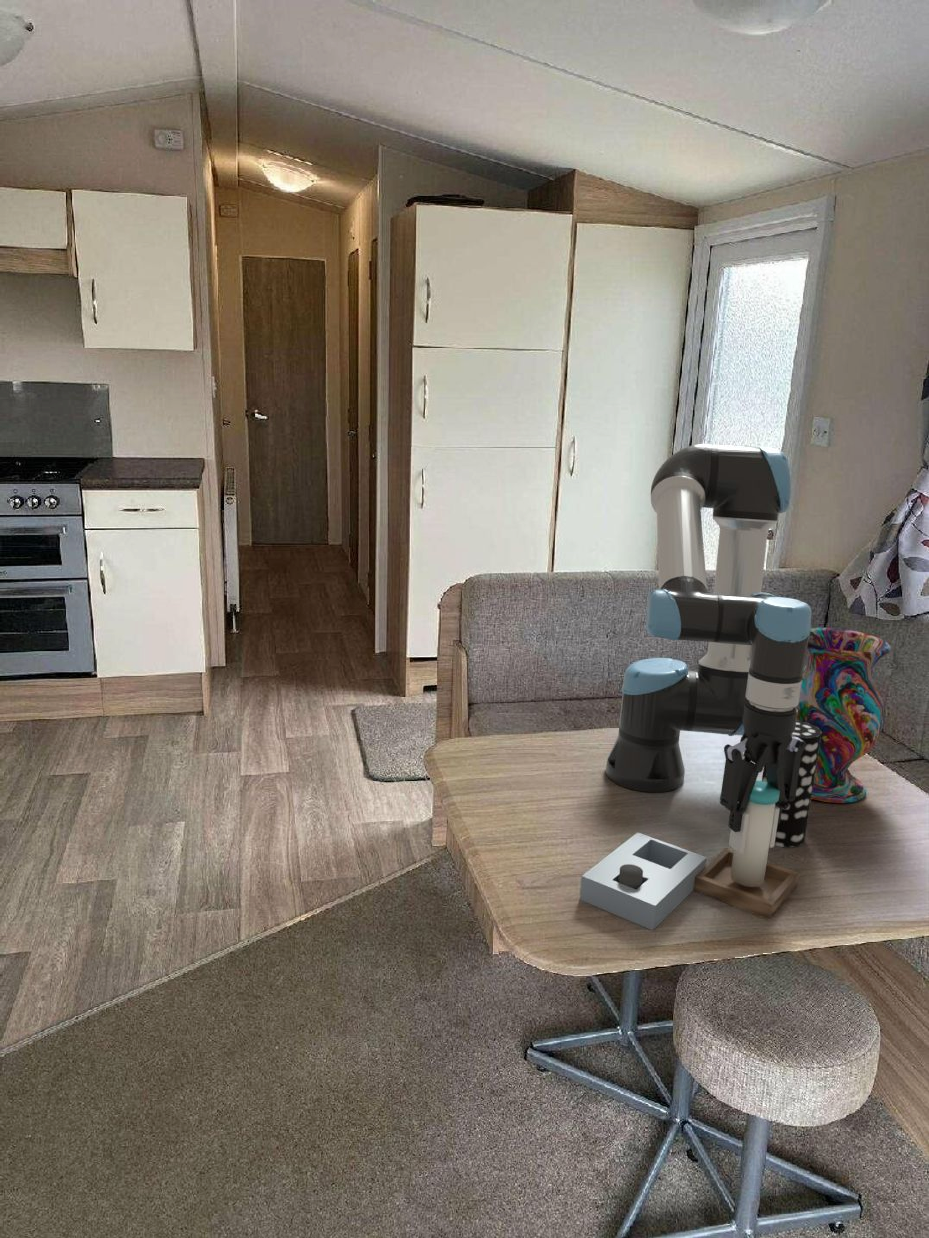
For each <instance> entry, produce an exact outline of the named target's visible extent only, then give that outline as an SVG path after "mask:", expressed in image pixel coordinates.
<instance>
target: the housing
mask: <svg viewBox="0 0 929 1238" xmlns="http://www.w3.org/2000/svg"><path fill="white" fill-rule="evenodd" d="M707 858H708V857H707V856H704V855H701V854H699V853H695V852H694V851H691V850H689V849H684V848H682V847H680V846H677V845H674V844H671V843H668V842H665V841H663V840H660V839H658V838H655V837H652V836H649V835H646V834H643V833H640V832H638V831H637V832H636V833H635V834H633V836H631V837H630V838H628V839H627V840H626V841H625V842H624V843H622V844H621V845H619V846H618V847H617V848H615V850H613V851H612V852H610V853H609V854H608V855H607V856H605V857H604V858H603V859H601V860H600V861H599V862H598V863H597V864H595V865H594V866H593V867H591V868H590V869H589V870H587V871H586V872H584V873H583V874H582V875H581V879H580V880H581V881H580V893H579V900H580V901H582V902H584V903H588V904H589V905H591V906H593V907H595V908H599V909H601V910H604V911H606V912H608V913H610V914H613V915H615V916H617V917H620V918H622V919H624V920H627V921H628V922H629V921H630V922H632V923H633V924H636V925H638V926H641V927H643V928H645V929H648V930H650V931H654V929H656V928H657V926H658V925H659V924H661V923H662V922H663V920H665V919H666V918H667V917H668V916H669V915H670V913H672V912H673V911H674V910H675V909H676V908H677V907H678V906H679V905H680V904H681V903H682V902H683V901H684V900H685V899H686V898H687V897H688V896H689V895H690V894H692V892H694V890H693V889H694V881H695V876H696V875H697V874H698V873H699V872H700V871H701V870H702V869H703V868H705V867H706V866H707ZM626 864H631V865H636V866H638V867H640V868H641V869H642V870H643V877H642V885H641V886H640V887H639V888H638V889H637V890H636V889H633V888H631V887H628V886H626V885H623V884H621V883H618V882H619V872H620V867H621V866H623V865H626Z"/></svg>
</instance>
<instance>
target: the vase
mask: <svg viewBox="0 0 929 1238" xmlns="http://www.w3.org/2000/svg"><path fill="white" fill-rule="evenodd" d="M890 651H891V645H890V643H888V641H885V640H884V639H882V638H880V637H878V636H876V635H875V636H874V635H872V634H868V633H866V632H861V631H856V630H850V629H843V628H837V627H836V628H835V627H811V632H810V635H809V639H808V645H807V652H806V663H805V665H804V671H803V677H802V684H801V691H800V698H799V704H798V705H797V706H796V709H797V710H798V713H797V719H796V720H797V721H802V722H806V723H809V724H812V725H814V726H816V727H817V728H819V729H820V730H821V732H822V733H821V739H820V746H819V752H818V758H817V765H816V771H815V777H814V784H813V790H812V796H811V800H815V801H820V802H827V803H837V804H838V803H839V804H840V803H841V804H842V803H843V804H845V803H853V802H858V801H860V800H862V799H863V798H865V796H866V795H867V789H866V788H865V786H864V784H863V783H862V782H861V781H860V780H859V779H858V778H857V777H855V776H854V775H853V774H851V772H850V770H849V767H850V766H851V765H852V764H853V763H854V762H855V761H858V760H859V759H860V758H862V757H864V756H865V755H866V754H867V753H868V752H869V751H870V750H871V749H873V747H874V746H875V745H876V743H877V741H878V740H879V737H880V736H881V732H882V729H883V725H884V721H885V710H884V709H885V708H884V706H885V705H884V703H883V702H884V701H883V700H882V697H881V695H880V692H879V689H878V687H877V685H876V682H875V679H874V677H873V673H874V667H875V665H876V664H877V663H878V661H879V660H880V659H881V658H882V657H884V656H886V655H887V654H888V653H890Z"/></svg>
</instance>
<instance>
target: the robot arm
mask: <svg viewBox="0 0 929 1238" xmlns="http://www.w3.org/2000/svg"><path fill="white" fill-rule="evenodd" d="M791 483H792V480H791V471H790V464H789V460H788V458H787V456H786V454H785V453H784V452H783V451H782V450H780V449H779V448H778V449H777V448H773V447H766V446H765V447H764V446H760V445H757V446H753V445H749V446H748V445H747V446H746V445H727V444H726V445H725V444H724V445H723V444H710V443H697V444H694V445H693V444H692V445H689V446H686V447H684V448H682V449H680V450H678V451H676V452H675V453H674V454H672V455H671V456H669V458H667V459H666V460H665V461H664V462H663V463H662V464H661V466H660V467H659V468H658V470H657V472H656V473H655V475H654V478H653V480H652V483H651V487H650V504H651V507H652V509H653V511H654V512H655V513H656V520H657V521H656V524H657V525H656V527H657V531H656V532H657V564H658V565H657V567H658V569H657V570H658V589H653V590H651V591H650V592H649V593H648V596H647V597H648V598H647V602H646V603H647V605H646V612H645V613H646V614H645V630H646V632H647V634H648V635H649V636H651V637H654V638H659V639H660V638H661V639H667V640H672V641H689V642H704V643H705V642H706V643H708V647H707V653H706V654H705V655H704V656H703V657H702V658H700V659H699V660H698V664H697V665H698V666H697V669H696V670H690V669H689V668H688V666H687V663H686V662H684V661H683V660H679V659H674V658H670V657H669V658H668V657H650V658H644V659H640V660H637V661H635V662H633V663H631V664H630V665H629V666H627V668H626V670H625V673H624V677H623V684H622V686H621V693H622V698H621V706H620V714H619V723H618V724H619V725H618V733H617V734H618V735H617V737H616V740H615V741H614V744H613V746H612V748H611V751H610V753H609V755H608V757H607V760H606V764H605V765H606V766H605V774H606V776H607V777H608V778H609V780H611V781H612V782H613V783H615V784H617V785H619V786H621V787H623V788H627V789H629V790H630V789H631V790H635V791H638V792H639V791H640V792H647V793H664V792H665V793H666V792H670V791H674V790H676V789H678V788H680V787H681V786H682V785H683V784H684V782H685V774H686V773H685V772H686V770H685V765H684V761H683V757H682V752H681V747H680V735H681V731H682V732H683V731H685V732H695V733H704V734H705V733H708V734H714V735H715V734H716V735H727V736H728V737H734V736H740V740H739V741H740V742H737V743H736V744H734V745H731V744H728V743H727V744H726V745H725V746H724V747H723V752H724V756H725V757H724V758H725V763H724V770H723V776H722V784H721V790H720V791H721V792H720V798H719V804H720V805H721V806H722V807H724V808H726V809H727V810H729V820H728V828H729V829H730V834H729V841H728V846H729V847H731V848H732V850H734V849H735V850H736V851H738V852H739V853H744V851H745V844H746V836H747V829H748V822H749V815H750V814H749V813H748V812H746V808H747V805H748V802H749V799H750V795H751V794H752V791H753V788H754V785H755V782H756V780H757V779H758V776H759V773H763V768H764V765H765V764H766V772H767V783H768V784H770V785H772V786H773V787H775V788H776V789H778V790H779V791H780V794H779V800H778V802H777V803H775V809H774V816H773V823H772V830H771V836H770V843H769V848H774V847H775V845H774V844H775V837H776V830H777V824H779V823H780V821H781V814H782V808H783V809H787V808H788V807H789V804H788V803H786V802H787V801H794V799H795V797H796V790H797V783H798V776H799V769H800V761H801V755H802V753H803V751H804V748H805V746H806V742H805V741H803V740H801V739H799V738H797V737H795V736H794V735H791V734H792V733H793V732H794V731H795V726H796V719H797V713H798V710H797V709H796V706H797V705H798V704H799V698H800V691H801V684H802V677H803V671H804V667H805V666H806V659H807V653H806V652H807V645H808V639H809V635H810V632H811V628H812V624H811V622H812V608H811V607H810V605H809V604H808V603H806V602H804V601H801V600H800V599H796V598H792V597H791V598H790V597H781V596H776V595H775V594H773V593H768V592H764V591H763V592H762V589H763V588H762V587H763V580H764V579H763V578H764V569H765V561H766V560H765V558H766V549H767V542H768V541H767V540H768V532H769V530H770V529H771V528H772V527H774V526H775V525H776V524H777V523H778V520H779V519H778V518H779V514H784V513H785V512H787V511H788V509H789V506H790V500H791V493H792V492H791V491H792V488H791V487H792V486H791V485H792V484H791ZM702 508H704V509H705V508H707V509H712V519H713V521H714V522H715V523H716V524H717V526H718V527H719V535H718V547H717V555H716V565H715V566H716V567H715V576H714V584H713V585H714V586H713V593H708V586H707V573H706V560H705V550H704V549H705V548H704V538H703V537H704V536H703V534H704V533H703V526H702V525H703V524H702V512H701V511H702ZM787 788H788V790H787Z"/></svg>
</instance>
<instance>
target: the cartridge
mask: <svg viewBox="0 0 929 1238" xmlns="http://www.w3.org/2000/svg"><path fill="white" fill-rule="evenodd" d="M779 794H780V791H779V790H778V789H776V788H775V787H773V786H772V785H770V784H768V783H767V782H763V781H762V780H757V779H756V782H755V785H754V788H753V791H752V794H751V795H750V799H749V802H748V805H747V808H746V812H748V813H749V814H750V815H749V822H748V829H747V836H746V844H745V851H744V853H739V852H738V851H736V850H735V849H733V850H734V853H733V860H732V867H731V875H730V876H731V878H732V880H733V881H735V882H736V883H738V884H740V885H743V886H747V887H758V886H761V885H762V884H763V883H764V878H765V871H766V864H767V862H768V857H769V856H768V855H769V848H770V847H769V843H770V836H771V830H772V823H773V816H774V809H775V803H777V802H778V800H779Z"/></svg>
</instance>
